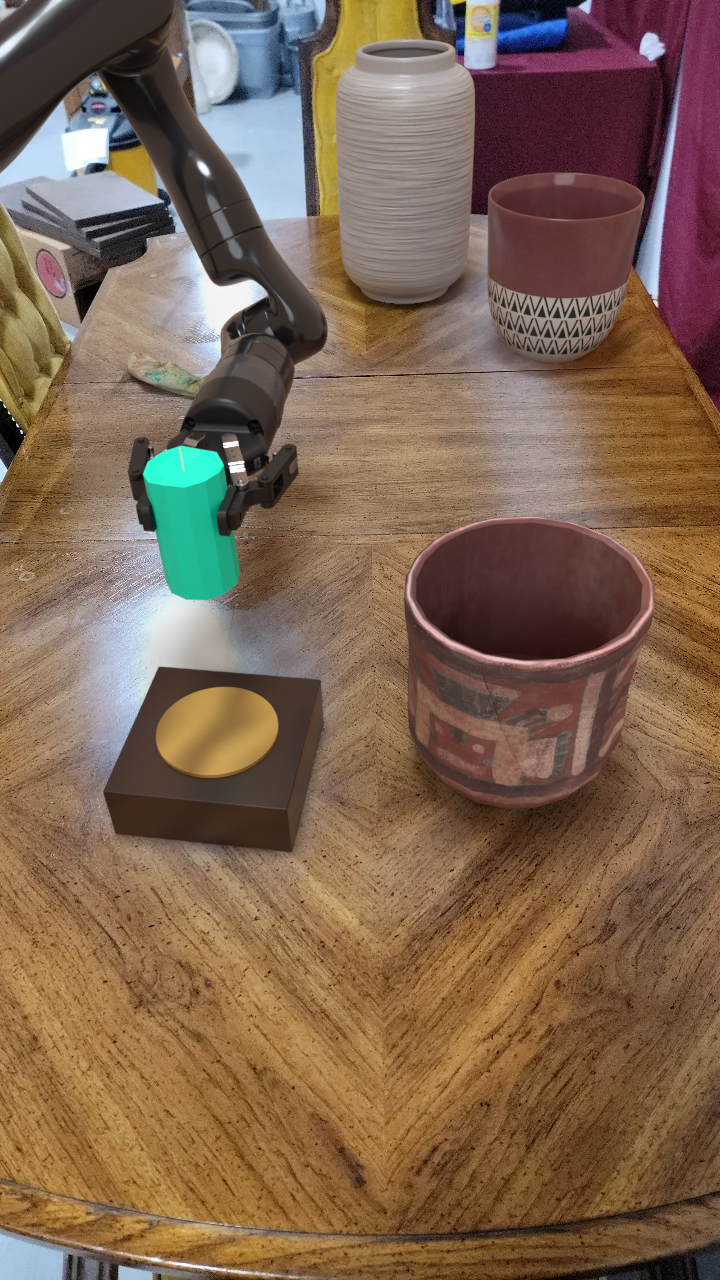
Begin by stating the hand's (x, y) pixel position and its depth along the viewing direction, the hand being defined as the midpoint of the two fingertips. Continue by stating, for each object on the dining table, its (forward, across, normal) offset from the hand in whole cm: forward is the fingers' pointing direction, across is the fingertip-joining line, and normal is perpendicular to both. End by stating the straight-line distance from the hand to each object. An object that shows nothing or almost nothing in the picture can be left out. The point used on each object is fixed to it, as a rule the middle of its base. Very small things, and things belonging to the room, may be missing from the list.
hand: (184, 523), depth 74 cm
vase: (-98, +6, +21) cm, 100 cm away
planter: (-74, +29, +20) cm, 83 cm away
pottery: (+3, +26, +20) cm, 33 cm away
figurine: (-60, -21, +20) cm, 67 cm away
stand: (+7, +2, +20) cm, 21 cm away
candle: (-3, 0, +7) cm, 8 cm away
